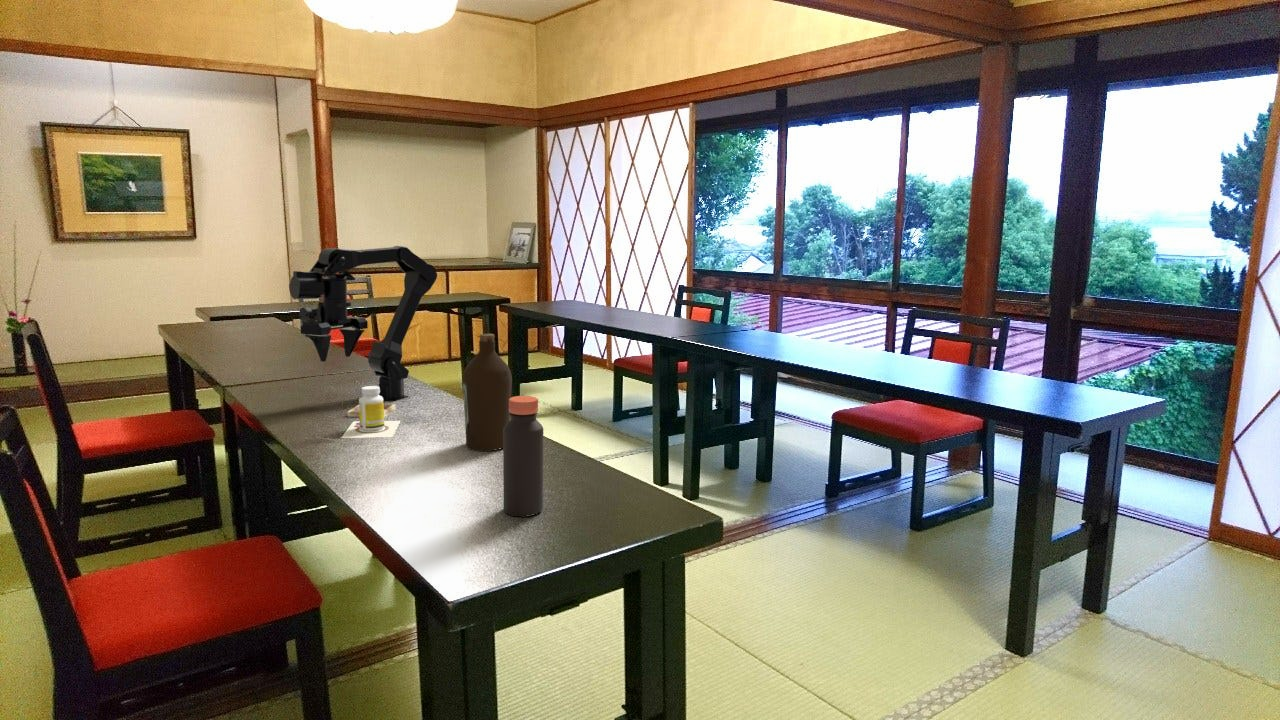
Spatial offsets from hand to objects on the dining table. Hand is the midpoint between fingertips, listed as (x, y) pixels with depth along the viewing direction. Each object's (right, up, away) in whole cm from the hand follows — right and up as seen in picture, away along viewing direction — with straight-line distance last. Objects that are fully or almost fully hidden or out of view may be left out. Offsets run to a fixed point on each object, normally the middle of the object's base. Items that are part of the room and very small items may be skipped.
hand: (335, 359), depth 193 cm
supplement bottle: (+15, -17, -17) cm, 28 cm away
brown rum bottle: (+44, -19, -25) cm, 54 cm away
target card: (+15, -17, -17) cm, 28 cm away
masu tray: (+10, -14, -2) cm, 17 cm away
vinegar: (+58, -27, -62) cm, 88 cm away
